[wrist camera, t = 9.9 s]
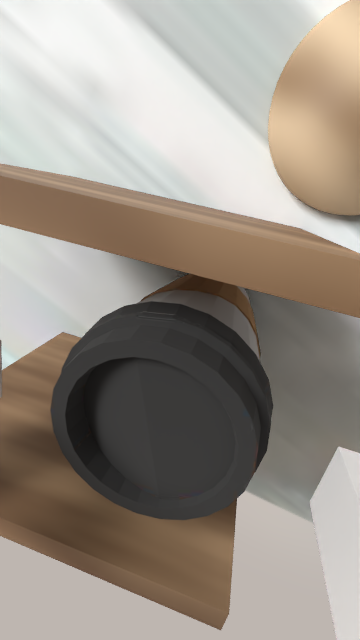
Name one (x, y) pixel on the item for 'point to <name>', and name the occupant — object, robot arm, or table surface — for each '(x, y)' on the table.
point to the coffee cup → (167, 401)
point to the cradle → (47, 360)
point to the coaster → (321, 115)
